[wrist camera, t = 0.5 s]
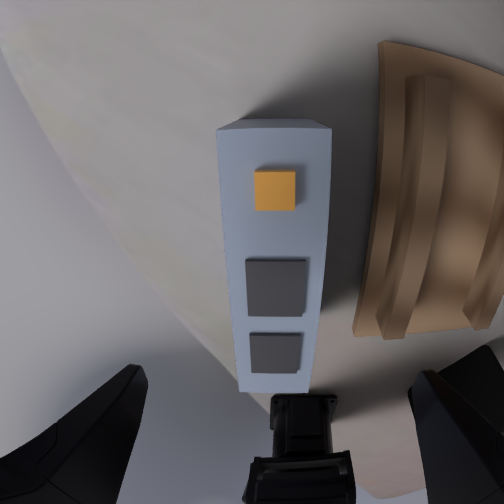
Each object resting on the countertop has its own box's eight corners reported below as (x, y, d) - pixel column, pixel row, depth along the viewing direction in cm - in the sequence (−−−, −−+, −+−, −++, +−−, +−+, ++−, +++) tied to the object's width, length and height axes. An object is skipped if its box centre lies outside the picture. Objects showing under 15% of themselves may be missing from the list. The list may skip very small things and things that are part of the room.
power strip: (302, 317, 22) (308, 398, 16) (249, 317, 23) (238, 397, 16) (310, 118, 16) (333, 130, 9) (239, 119, 16) (213, 131, 10)
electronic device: (405, 388, 26) (427, 471, 17) (486, 341, 23) (526, 415, 14) (414, 404, 27) (433, 478, 19) (488, 361, 24) (521, 429, 15)
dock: (472, 319, 21) (488, 344, 18) (352, 328, 22) (360, 361, 19) (521, 87, 12) (552, 91, 9) (378, 43, 13) (400, 32, 10)
